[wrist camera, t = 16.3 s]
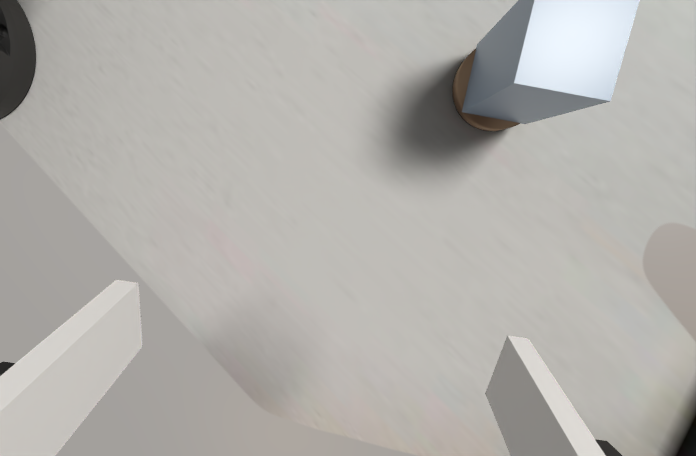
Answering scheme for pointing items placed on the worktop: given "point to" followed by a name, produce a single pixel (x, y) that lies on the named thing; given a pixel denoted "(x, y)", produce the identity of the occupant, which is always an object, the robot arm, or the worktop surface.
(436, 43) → the worktop surface
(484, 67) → the upright blue pillar
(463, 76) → the post stand
